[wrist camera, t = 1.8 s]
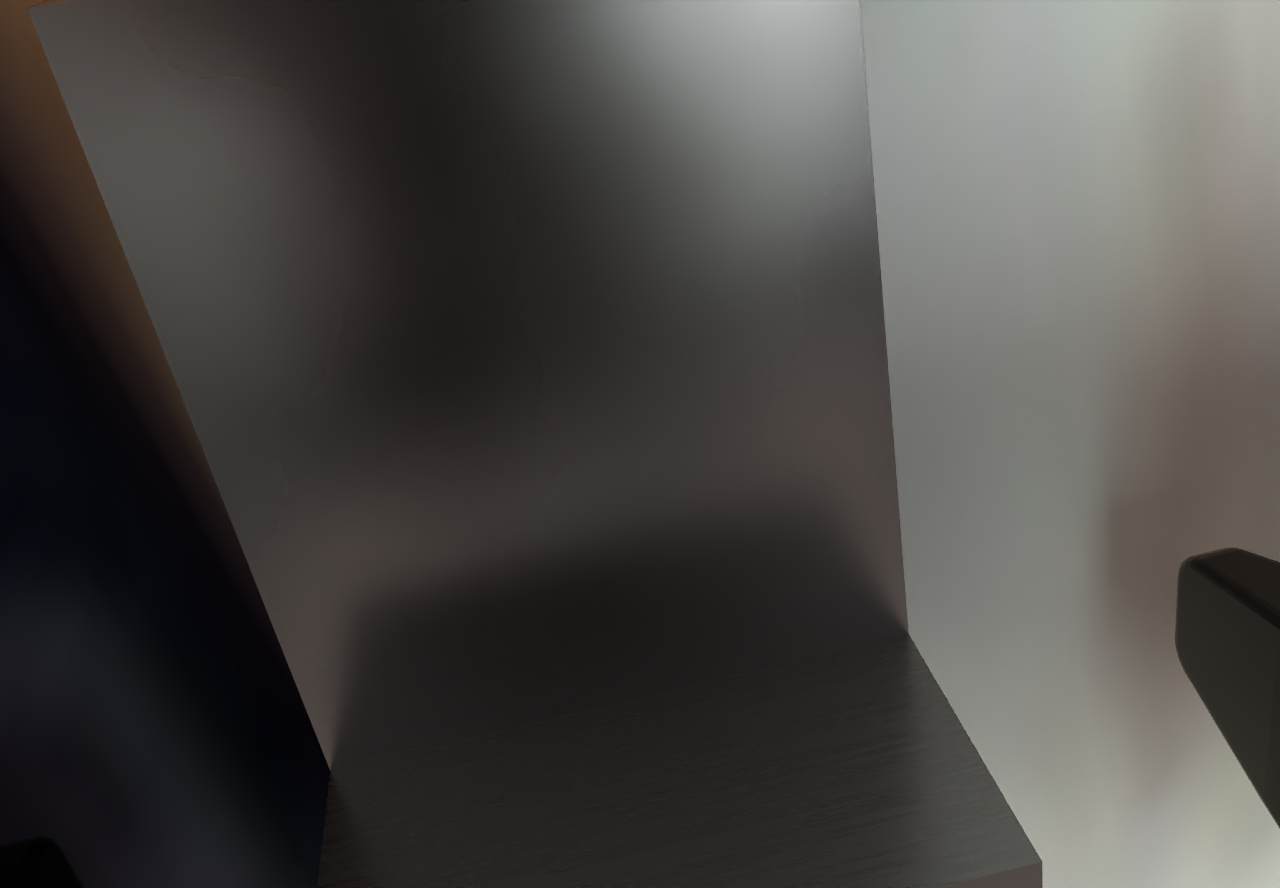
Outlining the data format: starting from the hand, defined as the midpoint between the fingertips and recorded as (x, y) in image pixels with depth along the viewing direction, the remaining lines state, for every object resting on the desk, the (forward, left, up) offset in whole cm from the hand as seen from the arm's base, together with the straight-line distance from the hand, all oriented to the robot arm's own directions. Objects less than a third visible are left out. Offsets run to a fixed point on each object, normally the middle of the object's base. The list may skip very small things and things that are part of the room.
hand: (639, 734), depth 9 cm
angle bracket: (+2, 0, -1) cm, 3 cm away
